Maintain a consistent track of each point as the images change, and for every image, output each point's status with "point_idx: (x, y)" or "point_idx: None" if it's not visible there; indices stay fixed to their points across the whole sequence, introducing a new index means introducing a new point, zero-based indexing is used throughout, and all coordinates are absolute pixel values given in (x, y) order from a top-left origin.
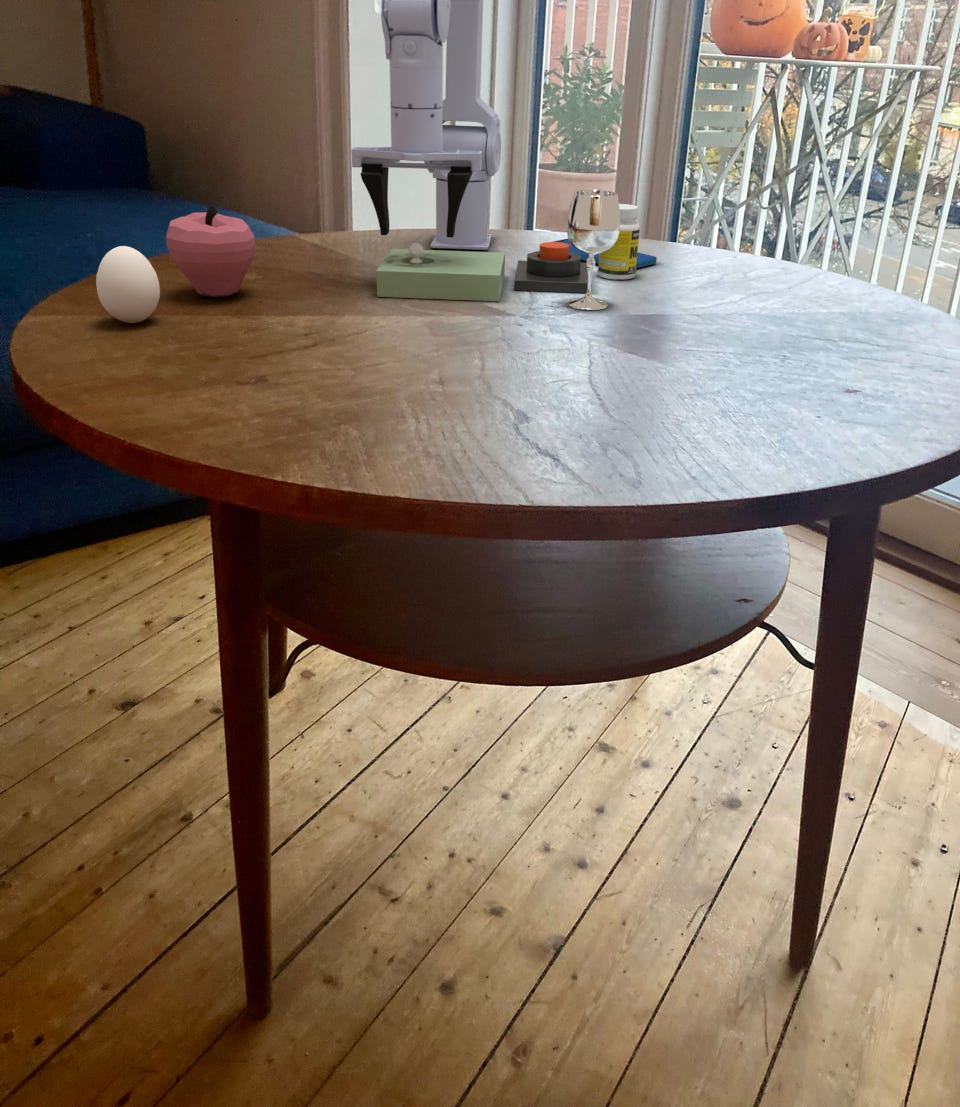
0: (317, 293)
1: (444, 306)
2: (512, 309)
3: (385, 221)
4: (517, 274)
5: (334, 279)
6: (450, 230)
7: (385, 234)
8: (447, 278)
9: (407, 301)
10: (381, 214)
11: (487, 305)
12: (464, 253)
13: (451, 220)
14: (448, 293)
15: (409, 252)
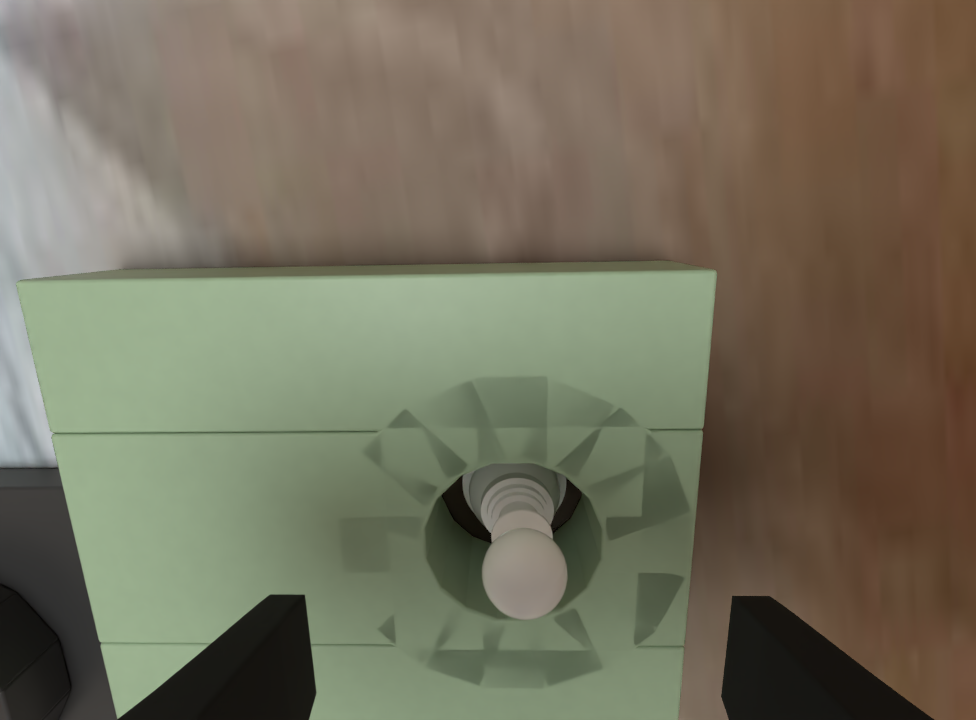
0: (954, 287)
1: (340, 146)
2: (31, 147)
3: (789, 659)
4: (85, 589)
5: (884, 539)
6: (254, 617)
7: (743, 596)
8: (314, 273)
9: (521, 210)
10: (863, 701)
11: (155, 200)
12: None
13: (202, 669)
14: (333, 267)
15: (559, 549)
